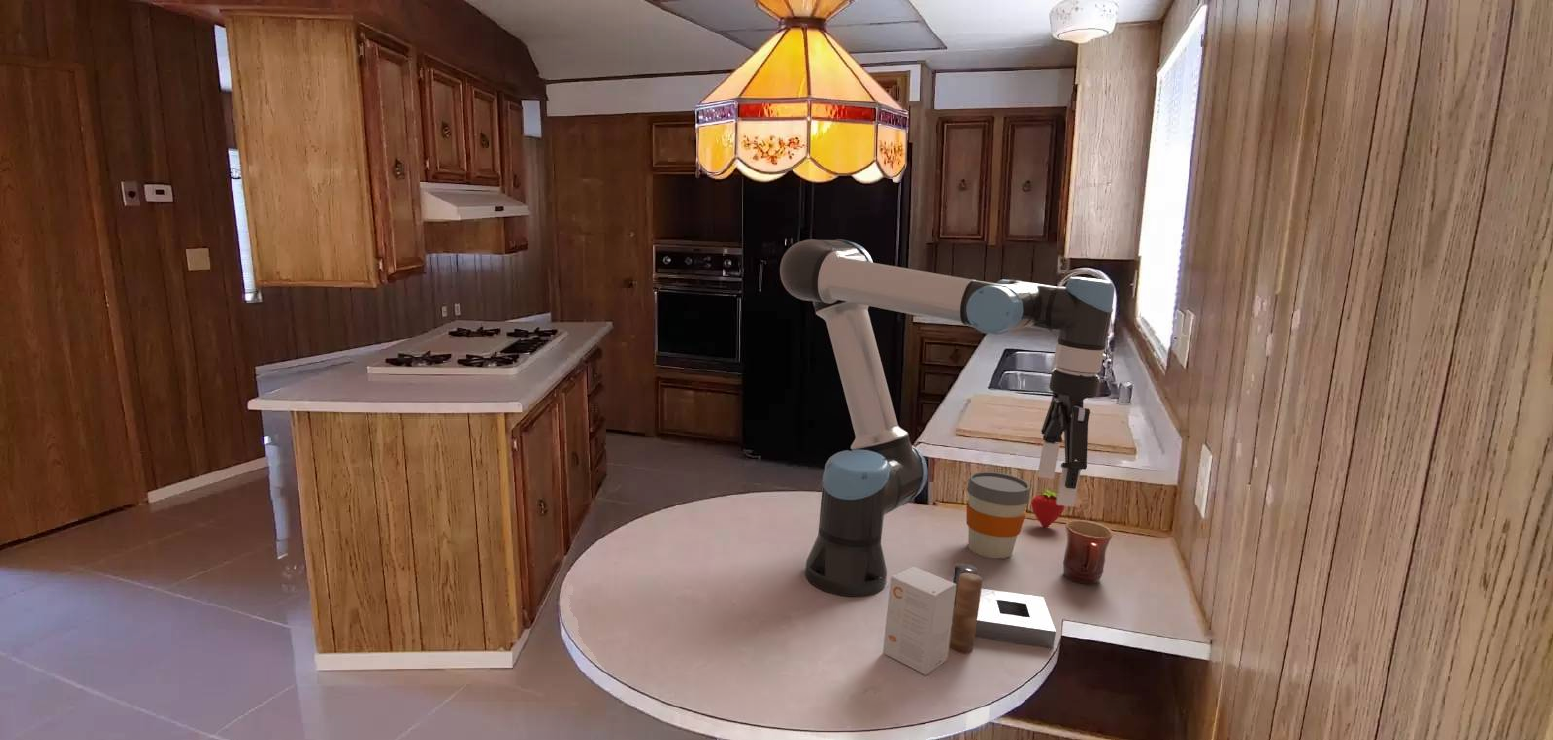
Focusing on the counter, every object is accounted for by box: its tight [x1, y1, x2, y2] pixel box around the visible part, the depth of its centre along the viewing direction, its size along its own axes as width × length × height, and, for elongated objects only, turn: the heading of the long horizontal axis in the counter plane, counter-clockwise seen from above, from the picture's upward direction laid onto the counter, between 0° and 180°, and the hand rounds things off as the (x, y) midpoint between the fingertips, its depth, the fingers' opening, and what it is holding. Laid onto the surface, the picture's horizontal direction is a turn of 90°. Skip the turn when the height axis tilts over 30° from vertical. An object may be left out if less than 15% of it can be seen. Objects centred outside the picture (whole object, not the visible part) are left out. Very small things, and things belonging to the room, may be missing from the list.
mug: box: [1062, 519, 1114, 585], centre depth 155 cm, size 12×9×10 cm
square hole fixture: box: [952, 563, 1057, 649], centre depth 136 cm, size 16×12×9 cm
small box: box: [882, 566, 957, 676], centre depth 123 cm, size 8×6×13 cm
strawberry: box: [1031, 484, 1065, 528], centre depth 181 cm, size 6×8×10 cm
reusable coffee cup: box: [966, 471, 1031, 559], centre depth 166 cm, size 13×13×15 cm
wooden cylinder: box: [949, 573, 984, 654], centre depth 127 cm, size 4×4×12 cm
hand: (1054, 490), depth 138 cm, fingers open, 13 cm apart
